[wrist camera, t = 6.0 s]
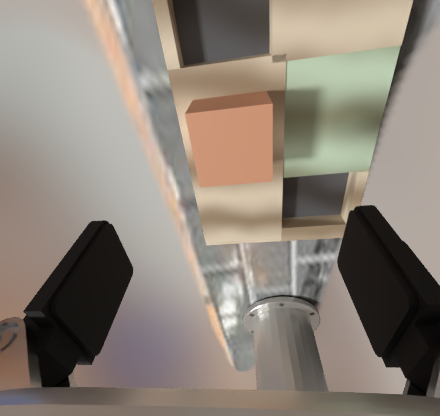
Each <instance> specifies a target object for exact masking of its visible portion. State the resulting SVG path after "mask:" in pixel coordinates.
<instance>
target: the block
mask: <svg viewBox="0 0 440 416" xmlns="http://www.w3.org/2000/svg"><path fill="white" fill-rule="evenodd" d="M185 118H186V123H187V127H188V132H189V137H190V142H191V147H192V152H193V157H194V162H195V167H196V171H197V176H198V181H199V186H200V187H212V186H224V185H236V184H248V183H260V182H272V181H273V103H272V101H271V99H270V97H269V95H268V93H267V91H261V92H253V93H245V94H237V95H229V96H221V97H213V98H205V99H197V100H192V102H191V104H190V106H189V107H188V109H187V111H186V113H185Z"/></svg>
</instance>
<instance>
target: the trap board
mask: <svg viewBox="0 0 440 416" xmlns="http://www.w3.org/2000/svg"><path fill="white" fill-rule="evenodd" d="M152 2H153V7H154V11H155V16H156V20H157V25H158V29H159V34H160V38H161V43H162V47H163V52H164V56H165V61H166V65H167V70H168V74H169V79H170V83H171V88H172V92H173V97H174V101H175V106H176V110H177V115H178V119H179V124H180V129H181V133H182V138H183V142H184V147H185V151H186V156H187V160H188V165H189V169H190V174H191V178H192V183H193V187H194V192H195V196H196V201H197V205H198V210H199V214H200V219H201V223H202V228H203V232H204V237H205V241H206V245H219V244H237V243H255V242H273V241H291V240H309V239H327V238H343V235H344V231H345V227H346V223H347V219H348V215H349V212H350V211H351V210H354V208H355V207H356V206H361V202H362V198H363V194H364V190H365V186H366V182H367V178H368V174H369V168H370V164H371V160H372V157H373V153H374V149H375V145H376V141H377V137H378V133H379V129H380V125H381V121H382V117H383V113H384V110H385V106H386V102H387V98H388V94H389V90H390V86H391V82H392V78H393V74H394V70H395V66H396V63H397V59H398V55H399V51H400V47H401V45H402V42H403V38H404V34H405V30H406V27H407V23H408V19H409V15H410V11H411V7H412V3H413V0H152ZM261 91H267V93H268V95H269V97H270V99H271V101H272V103H273V181H272V182H260V183H248V184H236V185H224V186H212V187H200V186H199V181H198V176H197V171H196V167H195V162H194V157H193V152H192V147H191V142H190V137H189V132H188V127H187V123H186V118H185V113H186V111H187V109H188V107H189V106H190V104H191V102H192V100H197V99H205V98H213V97H221V96H229V95H237V94H245V93H253V92H261Z"/></svg>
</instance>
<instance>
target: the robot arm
mask: <svg viewBox="0 0 440 416" xmlns="http://www.w3.org/2000/svg"><path fill="white" fill-rule="evenodd" d="M337 263H338V268H339V270H340V273H341V275H342V278H343V280H344V282H345V285H346V287H347V289H348V292H349V294H350V296H351V299H352V301H353V303H354V306H355V308H356V310H357V313H358V315H359V317H360V320H361V322H362V324H363V327H364V329H365V331H366V333H367V336H368V338H369V340H370V343H371V345H372V348H373V350H374V352H375V354H376V355H377V356H378V357H382V359H383V361H384V364H385V366H386V367H400V368H401V370H402V372H403V374H404V376H405V378H407V381H406V385H405V388H404V391H403V394H402V395H401V394H377V393H353V392H351V393H350V392H329V391H328V387H327V383H326V379H325V375H324V371H323V368H322V364H321V360H320V356H319V352H318V348H317V344H316V340H315V336H314V331H315V330H316V329H317V327H318V326H319V323H320V316H319V313H318V311H317V309H316V308H315V307H314V306H313V305H312V304H311V303H309V302H307V301H305V300H302V299H299V298H295V297H271V298H267V299H263V300H261V301H258V302H256V303H254V304H253V305H251V306H250V307H249V308H248V309H247V310H246V311H245V314H244V326H245V328H246V330H247V331H248V332H249V333H251V334H252V335H253V336H254V352H255V369H256V386H257V390H227V389H174V388H173V389H172V388H104V387H77V386H76V382H75V377H74V373H73V370H74V368H75V366H76V364H78V365H92V362H93V360H94V358H95V356H97V355H98V354H99V353H100V351H101V349H102V347H103V345H104V342H105V340H106V337H107V335H108V332H109V330H110V328H111V325H112V323H113V320H114V318H115V316H116V313H117V311H118V309H119V306H120V304H121V301H122V299H123V297H124V294H125V292H126V289H127V287H128V284H129V282H130V280H131V277H132V275H133V267H132V264H131V262H130V260H129V258H128V256H127V254H126V252H125V250H124V248H123V246H122V243H121V242H120V239H119V237H118V235H117V233H116V231H115V229H114V227H113V225H112V224H109V222H107V221H92V222H90V223H89V224H88V226H87V227H86V228H85V230H84V231H83V233H82V234H81V235H80V236H79V238H78V239H77V240H76V242H75V243H74V244H73V246H72V247H71V249H70V250H69V251H68V252H67V254H66V255H65V256H64V258H63V259H62V261H61V262H60V263H59V265H58V266H57V267H56V268H55V270H54V271H53V272H52V274H51V275H50V277H49V278H48V279H47V281H46V282H45V283H44V285H43V286H42V287H41V288H40V290H39V291H38V292H37V294H36V295H35V297H34V298H33V299H32V301H31V302H30V303H29V305H28V306H27V307H26V309H25V310H24V313H25V314H26V316H25V318H24V319H21V318H19V317H12V318H7V319H4V320H2V321H0V416H440V285H439V284H438V283H437V282H436V281H435V279H434V278H433V277H432V275H431V274H430V273H429V272H428V271H427V269H426V268H425V267H424V265H423V264H422V263H421V261H420V260H419V259H418V258H417V257H416V255H415V254H414V253H413V251H412V250H411V249H410V248H409V246H408V245H407V244H406V243H405V242H404V241H402V240H401V239H400V237H399V236H398V235H397V234H396V232H395V231H394V230H393V228H392V227H391V226H390V225H389V223H388V222H387V221H386V220H385V218H384V217H383V216H382V214H381V213H380V212H379V210H377V208H376V207H375V206H373V205H370V206H369V205H368V206H356V207H355V208H354V210H351V211H350V212H349V215H348V219H347V223H346V227H345V231H344V235H343V239H342V243H341V247H340V251H339V256H338V260H337Z"/></svg>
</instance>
